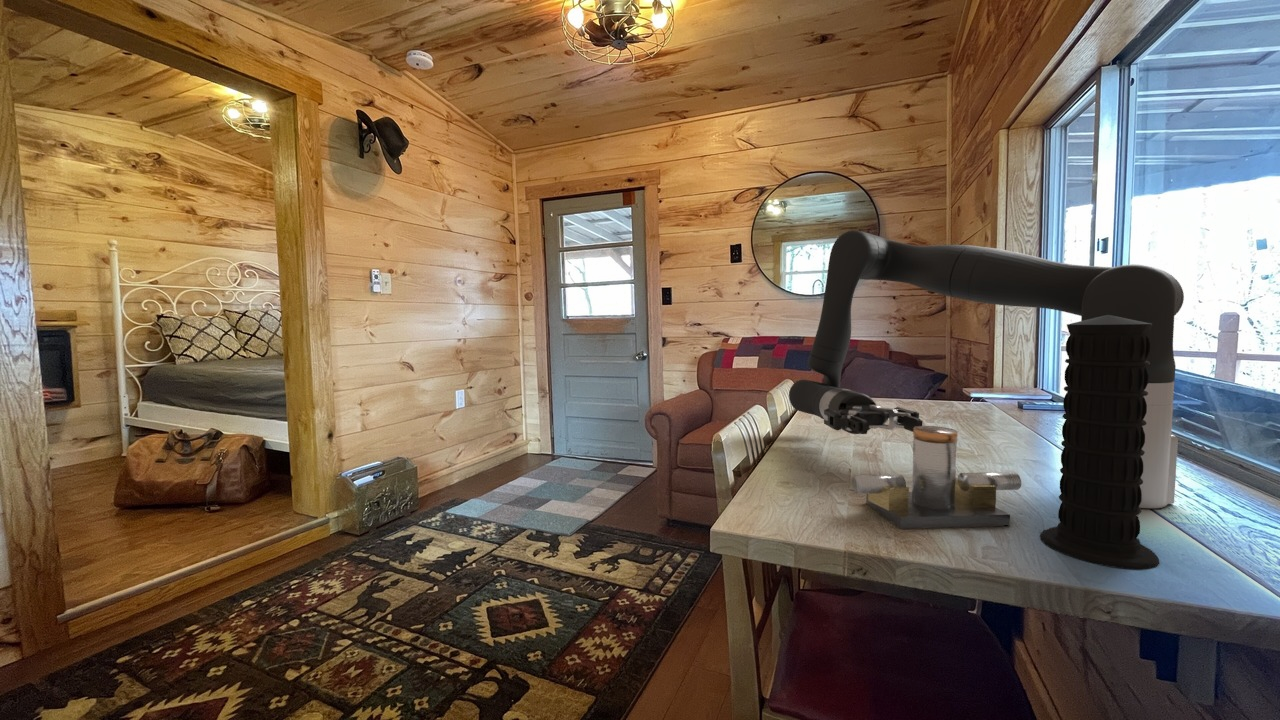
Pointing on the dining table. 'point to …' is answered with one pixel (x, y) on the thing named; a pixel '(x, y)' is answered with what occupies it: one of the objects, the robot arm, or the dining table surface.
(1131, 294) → the robot arm
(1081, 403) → the handle grip
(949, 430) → the grey cylinder
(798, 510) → the dining table surface
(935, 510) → the metal mounting fixture
